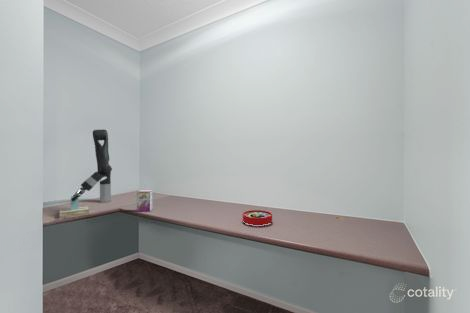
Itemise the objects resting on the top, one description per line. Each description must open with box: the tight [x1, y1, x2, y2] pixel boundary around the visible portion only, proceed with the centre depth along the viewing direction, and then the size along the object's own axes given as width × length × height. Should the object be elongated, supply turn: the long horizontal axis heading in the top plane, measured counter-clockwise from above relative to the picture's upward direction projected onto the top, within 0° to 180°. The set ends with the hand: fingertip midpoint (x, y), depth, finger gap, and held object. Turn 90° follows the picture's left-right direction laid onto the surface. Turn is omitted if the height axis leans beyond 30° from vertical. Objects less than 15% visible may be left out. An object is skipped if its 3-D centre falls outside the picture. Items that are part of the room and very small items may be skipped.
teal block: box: [70, 195, 79, 210], centre depth 177 cm, size 4×4×10 cm
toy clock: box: [242, 209, 273, 225], centre depth 158 cm, size 20×6×20 cm
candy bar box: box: [136, 189, 153, 212], centre depth 188 cm, size 11×5×16 cm, turn 84°
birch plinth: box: [59, 205, 90, 219], centre depth 177 cm, size 14×18×4 cm
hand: (72, 199), depth 176 cm, fingers open, 8 cm apart
